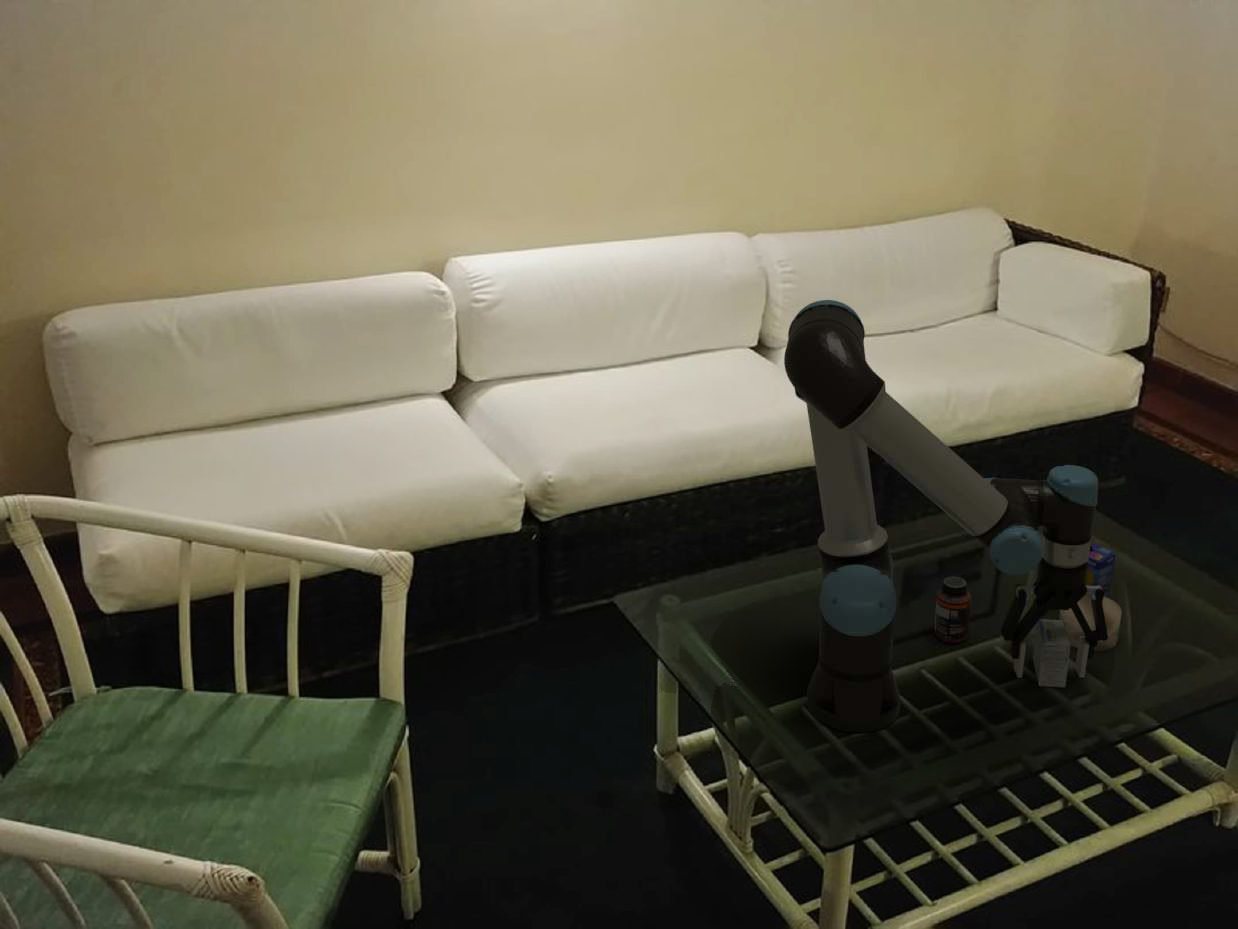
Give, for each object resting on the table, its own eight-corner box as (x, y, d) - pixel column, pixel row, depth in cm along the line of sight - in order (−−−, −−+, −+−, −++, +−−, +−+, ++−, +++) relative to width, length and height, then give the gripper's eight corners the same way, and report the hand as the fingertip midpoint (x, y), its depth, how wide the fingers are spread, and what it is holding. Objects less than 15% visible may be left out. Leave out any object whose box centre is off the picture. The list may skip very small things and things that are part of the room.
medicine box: (1065, 689, 189) (1071, 645, 186) (1037, 687, 190) (1043, 643, 186) (1058, 662, 196) (1064, 619, 193) (1031, 660, 197) (1036, 617, 193)
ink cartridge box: (1044, 598, 215) (1053, 530, 209) (1061, 588, 218) (1070, 521, 212) (1092, 619, 208) (1102, 549, 202) (1108, 608, 211) (1119, 539, 205)
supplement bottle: (955, 624, 208) (960, 570, 204) (974, 640, 203) (980, 586, 199) (927, 630, 207) (931, 577, 202) (945, 647, 202) (950, 592, 197)
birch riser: (1066, 651, 199) (1070, 622, 197) (1050, 621, 208) (1054, 593, 206) (1125, 651, 198) (1129, 622, 196) (1106, 621, 207) (1111, 592, 205)
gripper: (999, 570, 181) (987, 685, 190) (1142, 569, 179) (1123, 686, 189) (988, 547, 188) (977, 660, 197) (1126, 546, 186) (1108, 660, 195)
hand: (1048, 673), depth 193 cm, fingers open, 10 cm apart
